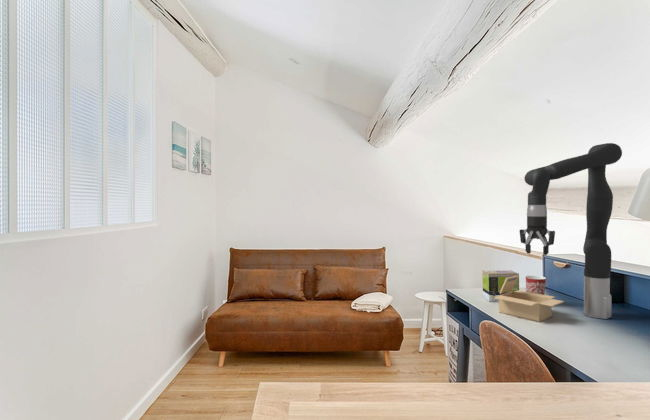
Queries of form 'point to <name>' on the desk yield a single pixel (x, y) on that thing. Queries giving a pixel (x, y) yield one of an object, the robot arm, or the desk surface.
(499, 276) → the tea box
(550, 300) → the carton
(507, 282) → the flap
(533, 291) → the mug
